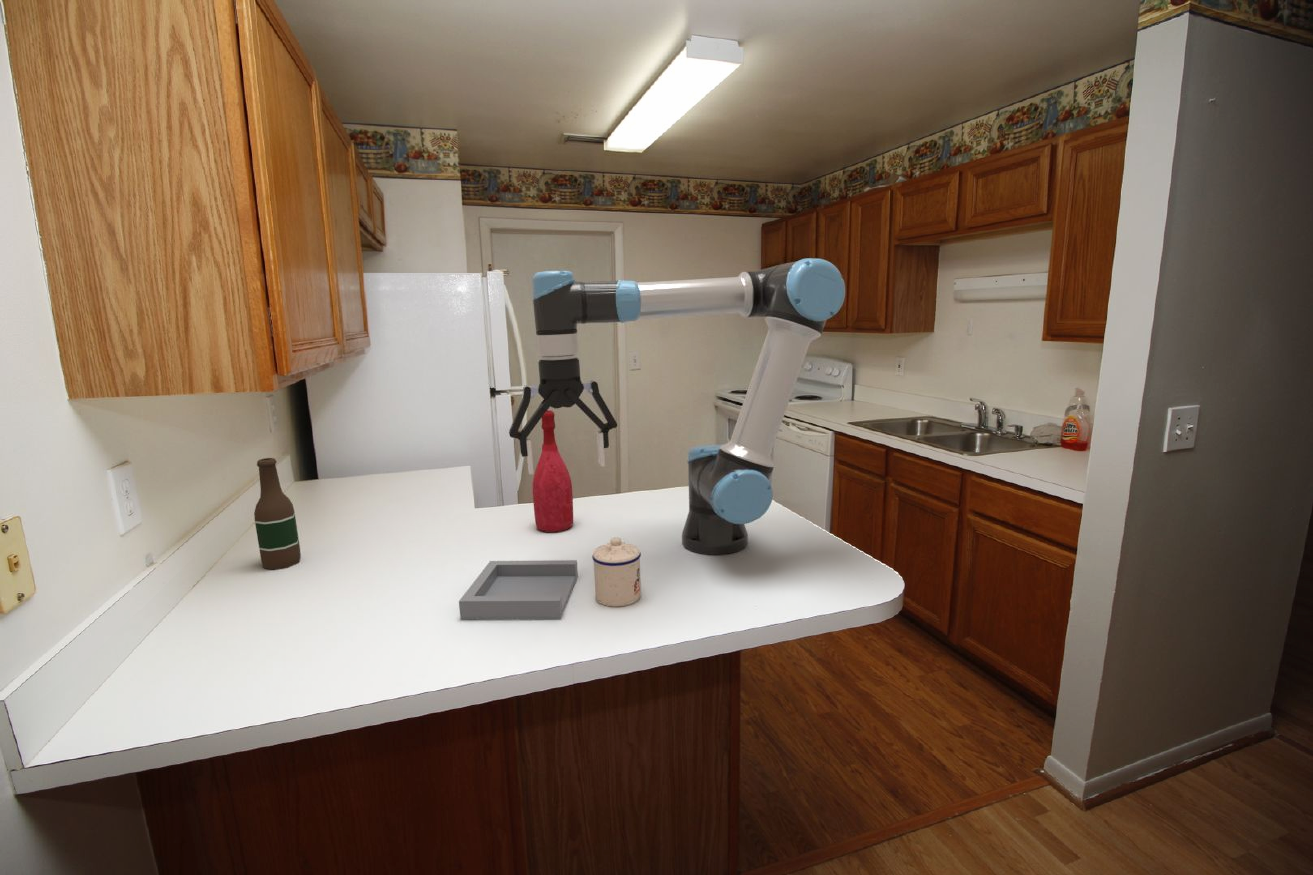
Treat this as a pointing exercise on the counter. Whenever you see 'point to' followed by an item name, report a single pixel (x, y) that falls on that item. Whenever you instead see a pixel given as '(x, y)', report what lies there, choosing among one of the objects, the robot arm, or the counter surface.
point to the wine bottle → (552, 484)
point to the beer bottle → (275, 521)
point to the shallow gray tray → (520, 590)
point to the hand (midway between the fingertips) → (566, 468)
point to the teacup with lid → (617, 573)
